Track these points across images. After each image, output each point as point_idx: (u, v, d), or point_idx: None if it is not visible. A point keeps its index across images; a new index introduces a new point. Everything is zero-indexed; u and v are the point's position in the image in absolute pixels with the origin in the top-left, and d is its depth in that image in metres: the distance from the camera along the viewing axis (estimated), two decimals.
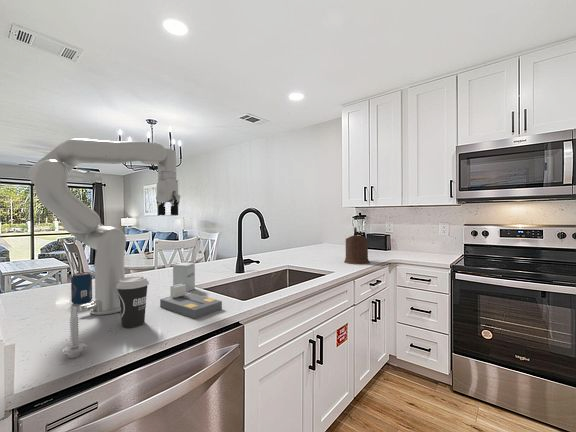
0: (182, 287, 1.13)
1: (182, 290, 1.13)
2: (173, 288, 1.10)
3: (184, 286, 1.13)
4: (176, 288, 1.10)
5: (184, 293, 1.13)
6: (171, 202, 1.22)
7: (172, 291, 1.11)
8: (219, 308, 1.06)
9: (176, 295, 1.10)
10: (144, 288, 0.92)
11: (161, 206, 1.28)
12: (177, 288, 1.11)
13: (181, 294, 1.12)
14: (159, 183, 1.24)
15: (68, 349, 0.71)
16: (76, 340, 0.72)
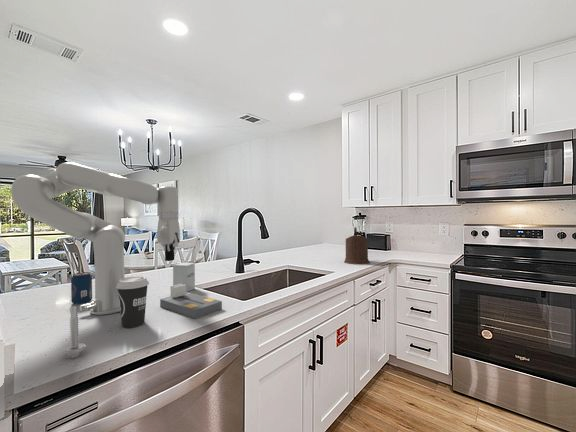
0: (182, 287, 1.13)
1: (182, 290, 1.13)
2: (173, 288, 1.10)
3: (184, 286, 1.13)
4: (176, 288, 1.10)
5: (184, 293, 1.13)
6: (168, 247, 1.15)
7: (172, 291, 1.11)
8: (219, 308, 1.06)
9: (176, 295, 1.10)
10: (144, 288, 0.92)
11: None
12: (177, 288, 1.11)
13: (181, 294, 1.12)
14: (160, 224, 1.15)
15: (68, 349, 0.71)
16: (76, 340, 0.72)
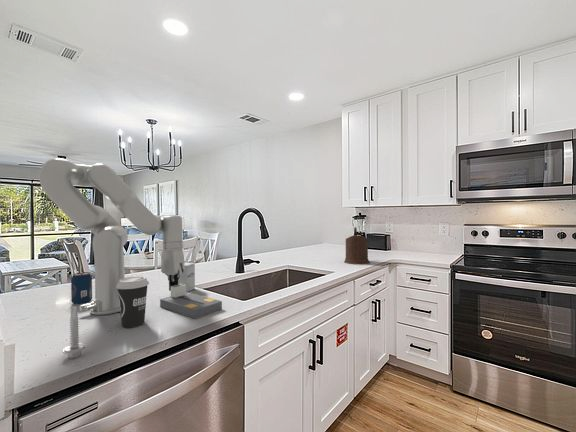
0: (182, 287, 1.13)
1: (182, 290, 1.13)
2: (173, 288, 1.10)
3: (184, 286, 1.13)
4: (176, 288, 1.10)
5: (184, 293, 1.13)
6: (172, 277, 1.13)
7: (172, 291, 1.11)
8: (219, 308, 1.06)
9: (176, 295, 1.10)
10: (144, 288, 0.92)
11: None
12: (177, 288, 1.11)
13: (181, 294, 1.12)
14: (164, 253, 1.14)
15: (68, 349, 0.71)
16: (76, 340, 0.72)
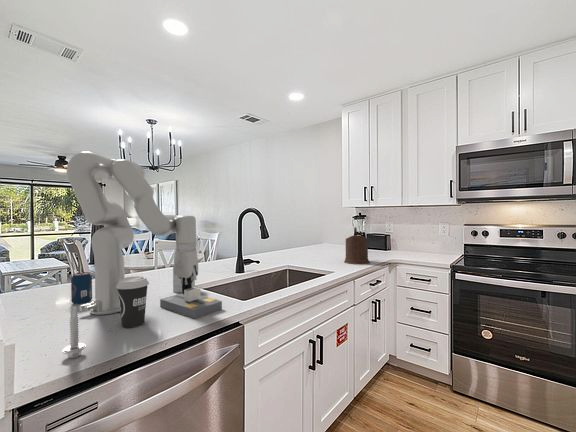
0: (196, 291, 1.07)
1: (196, 293, 1.07)
2: (187, 292, 1.05)
3: (198, 289, 1.08)
4: (190, 292, 1.05)
5: (198, 297, 1.08)
6: (186, 280, 1.08)
7: (186, 295, 1.06)
8: (219, 308, 1.06)
9: (190, 299, 1.05)
10: (144, 288, 0.92)
11: None
12: (191, 292, 1.06)
13: (195, 298, 1.07)
14: (177, 255, 1.08)
15: (68, 349, 0.71)
16: (76, 340, 0.72)
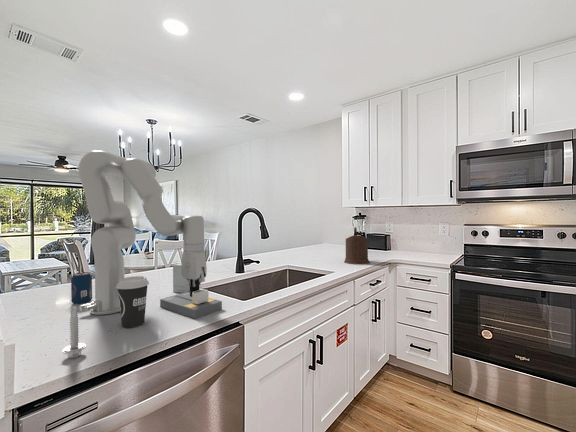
0: (204, 293, 1.04)
1: (205, 296, 1.05)
2: (195, 294, 1.02)
3: (206, 292, 1.05)
4: (198, 294, 1.02)
5: (206, 299, 1.05)
6: (193, 282, 1.05)
7: (194, 297, 1.03)
8: (219, 308, 1.06)
9: (198, 301, 1.02)
10: (144, 288, 0.92)
11: None
12: (199, 294, 1.03)
13: (203, 300, 1.04)
14: (185, 256, 1.05)
15: (68, 349, 0.71)
16: (76, 340, 0.72)
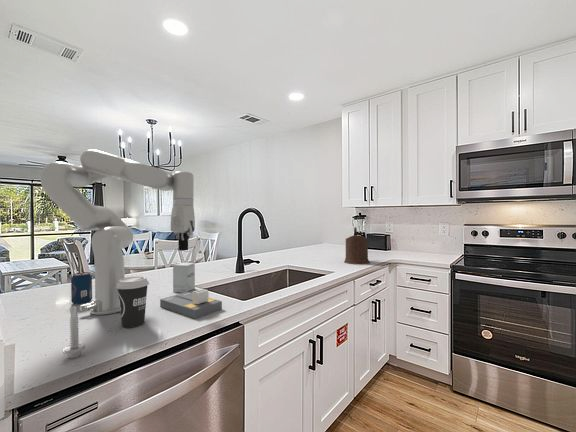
0: (204, 293, 1.04)
1: (205, 296, 1.05)
2: (195, 294, 1.02)
3: (206, 292, 1.05)
4: (198, 294, 1.02)
5: (206, 299, 1.05)
6: (182, 236, 1.08)
7: (194, 297, 1.03)
8: (219, 308, 1.06)
9: (198, 301, 1.02)
10: (144, 288, 0.92)
11: None
12: (199, 294, 1.03)
13: (203, 300, 1.04)
14: (174, 211, 1.09)
15: (68, 349, 0.71)
16: (76, 340, 0.72)
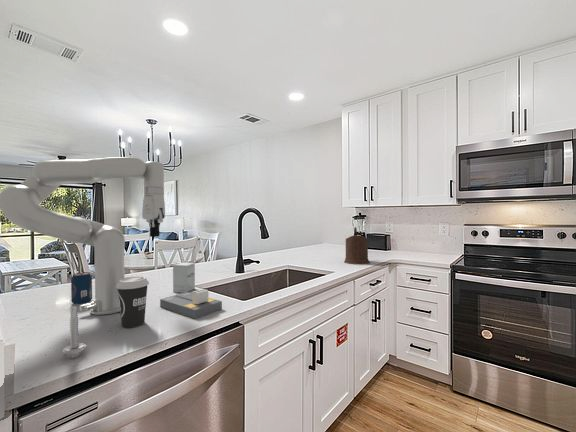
0: (204, 293, 1.04)
1: (205, 296, 1.05)
2: (195, 294, 1.02)
3: (206, 292, 1.05)
4: (198, 294, 1.02)
5: (206, 299, 1.05)
6: (153, 222, 1.14)
7: (194, 297, 1.03)
8: (219, 308, 1.06)
9: (198, 301, 1.02)
10: (144, 288, 0.92)
11: None
12: (199, 294, 1.03)
13: (203, 300, 1.04)
14: (145, 199, 1.15)
15: (68, 349, 0.71)
16: (76, 340, 0.72)
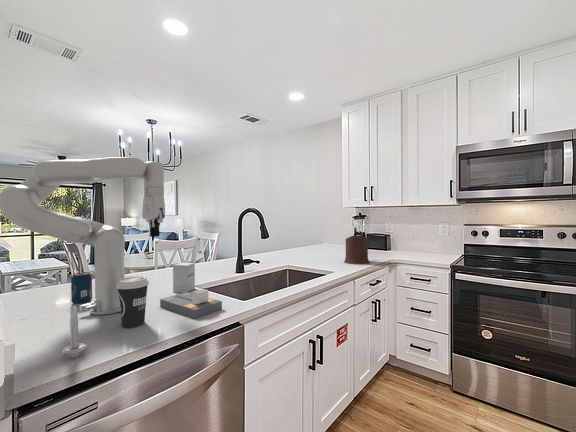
0: (204, 293, 1.04)
1: (205, 296, 1.05)
2: (195, 294, 1.02)
3: (206, 292, 1.05)
4: (198, 294, 1.02)
5: (206, 299, 1.05)
6: (153, 222, 1.14)
7: (194, 297, 1.03)
8: (219, 308, 1.06)
9: (198, 301, 1.02)
10: (144, 288, 0.92)
11: None
12: (199, 294, 1.03)
13: (203, 300, 1.04)
14: (145, 199, 1.15)
15: (68, 349, 0.71)
16: (76, 340, 0.72)
